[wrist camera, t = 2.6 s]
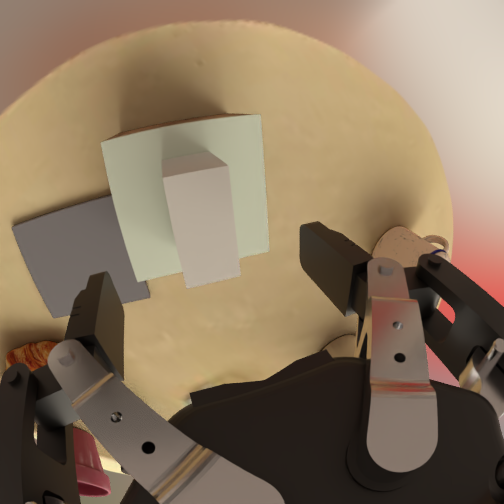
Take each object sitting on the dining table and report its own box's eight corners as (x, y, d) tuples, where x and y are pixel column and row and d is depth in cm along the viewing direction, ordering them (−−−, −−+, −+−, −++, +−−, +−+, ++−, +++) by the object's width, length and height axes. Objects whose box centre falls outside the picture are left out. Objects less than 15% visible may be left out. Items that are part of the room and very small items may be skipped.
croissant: (26, 377, 33) (37, 420, 29) (-18, 367, 24) (-10, 415, 21) (93, 332, 33) (109, 385, 29) (38, 313, 24) (49, 379, 21)
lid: (250, 113, 18) (296, 116, 12) (260, 240, 23) (298, 288, 17) (106, 139, 16) (79, 154, 10) (138, 268, 21) (136, 329, 15)
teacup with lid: (373, 286, 42) (420, 331, 32) (363, 245, 37) (421, 291, 27) (422, 246, 42) (471, 280, 32) (418, 203, 37) (477, 236, 27)
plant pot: (119, 444, 43) (125, 496, 33) (74, 450, 41) (76, 497, 31) (75, 414, 36) (74, 476, 25) (30, 422, 34) (26, 475, 23)
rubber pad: (120, 192, 24) (119, 193, 23) (150, 294, 30) (150, 297, 29) (13, 225, 21) (11, 227, 20) (54, 315, 27) (53, 318, 26)
